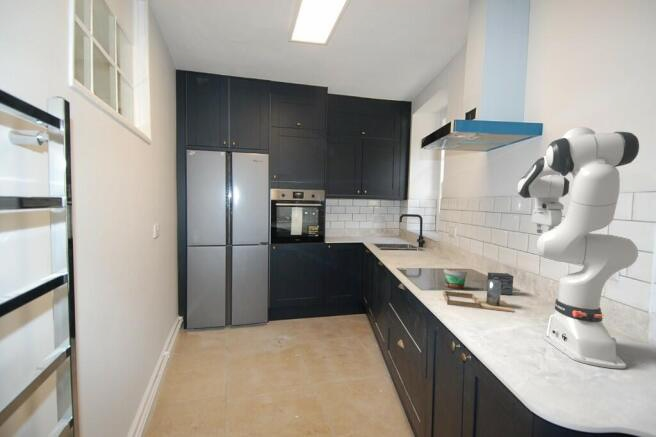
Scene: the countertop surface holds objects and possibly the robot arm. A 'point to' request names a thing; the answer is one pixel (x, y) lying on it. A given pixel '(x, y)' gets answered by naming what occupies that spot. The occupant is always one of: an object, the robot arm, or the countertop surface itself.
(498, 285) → the slate tin
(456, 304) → the wooden tray board
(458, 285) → the food container
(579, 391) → the countertop surface
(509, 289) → the small box
